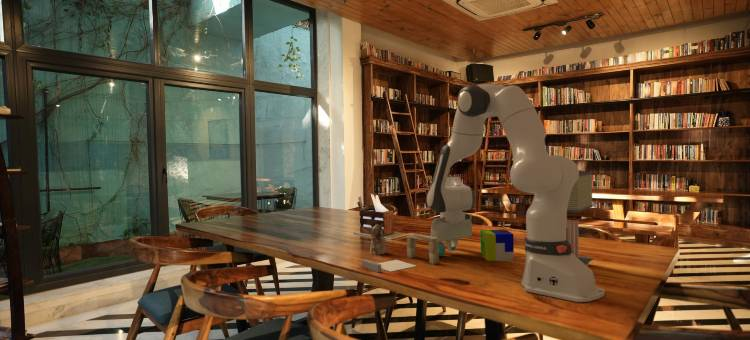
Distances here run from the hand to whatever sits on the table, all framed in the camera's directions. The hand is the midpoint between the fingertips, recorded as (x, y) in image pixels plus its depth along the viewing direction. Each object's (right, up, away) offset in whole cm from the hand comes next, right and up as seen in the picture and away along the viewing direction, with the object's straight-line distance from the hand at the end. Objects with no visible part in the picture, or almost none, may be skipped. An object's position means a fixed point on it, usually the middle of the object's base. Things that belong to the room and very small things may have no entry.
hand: (451, 250), depth 169 cm
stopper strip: (-32, -3, -21) cm, 39 cm away
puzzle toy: (+16, -2, -7) cm, 18 cm away
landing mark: (-24, -2, -17) cm, 30 cm away
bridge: (-13, -2, -9) cm, 16 cm away
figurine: (-30, -2, +5) cm, 30 cm away
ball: (-6, +1, -3) cm, 7 cm away
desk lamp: (+36, -2, -23) cm, 42 cm away
